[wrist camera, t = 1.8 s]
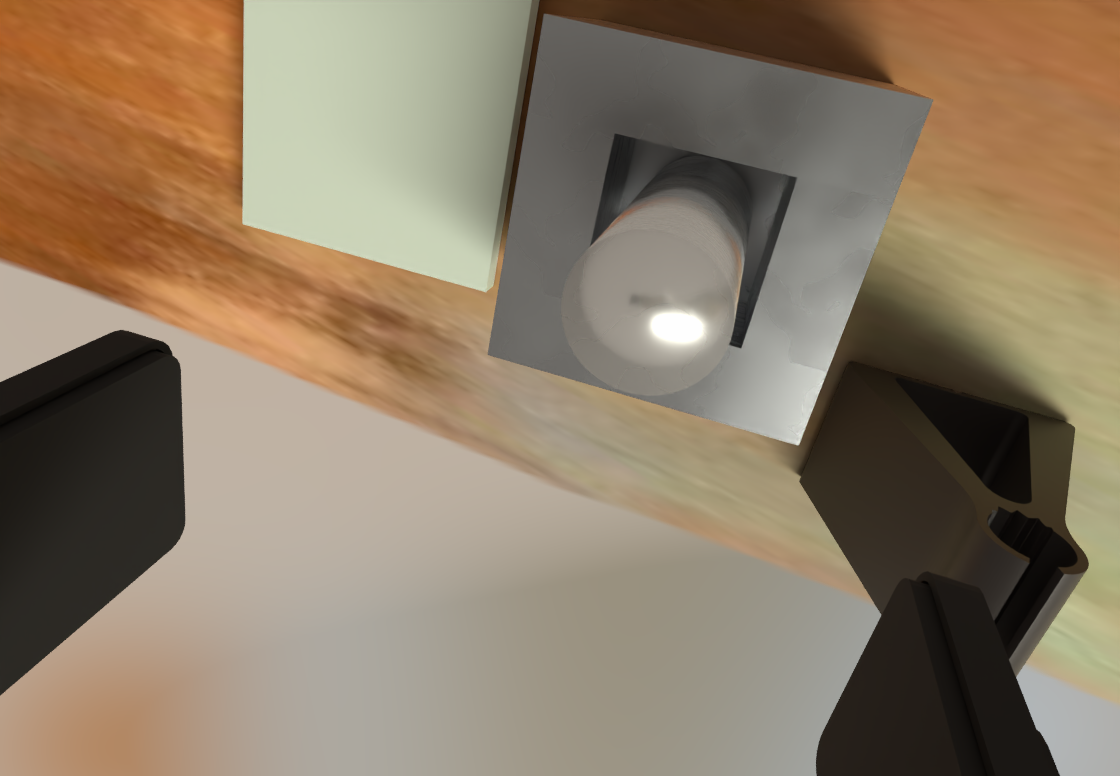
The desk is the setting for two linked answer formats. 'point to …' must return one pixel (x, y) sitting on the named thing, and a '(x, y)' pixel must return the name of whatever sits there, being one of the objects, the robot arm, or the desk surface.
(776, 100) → the chuck block
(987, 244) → the desk surface
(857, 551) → the phone stand
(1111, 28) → the desk surface
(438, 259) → the mat
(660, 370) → the grey metal cylinder
